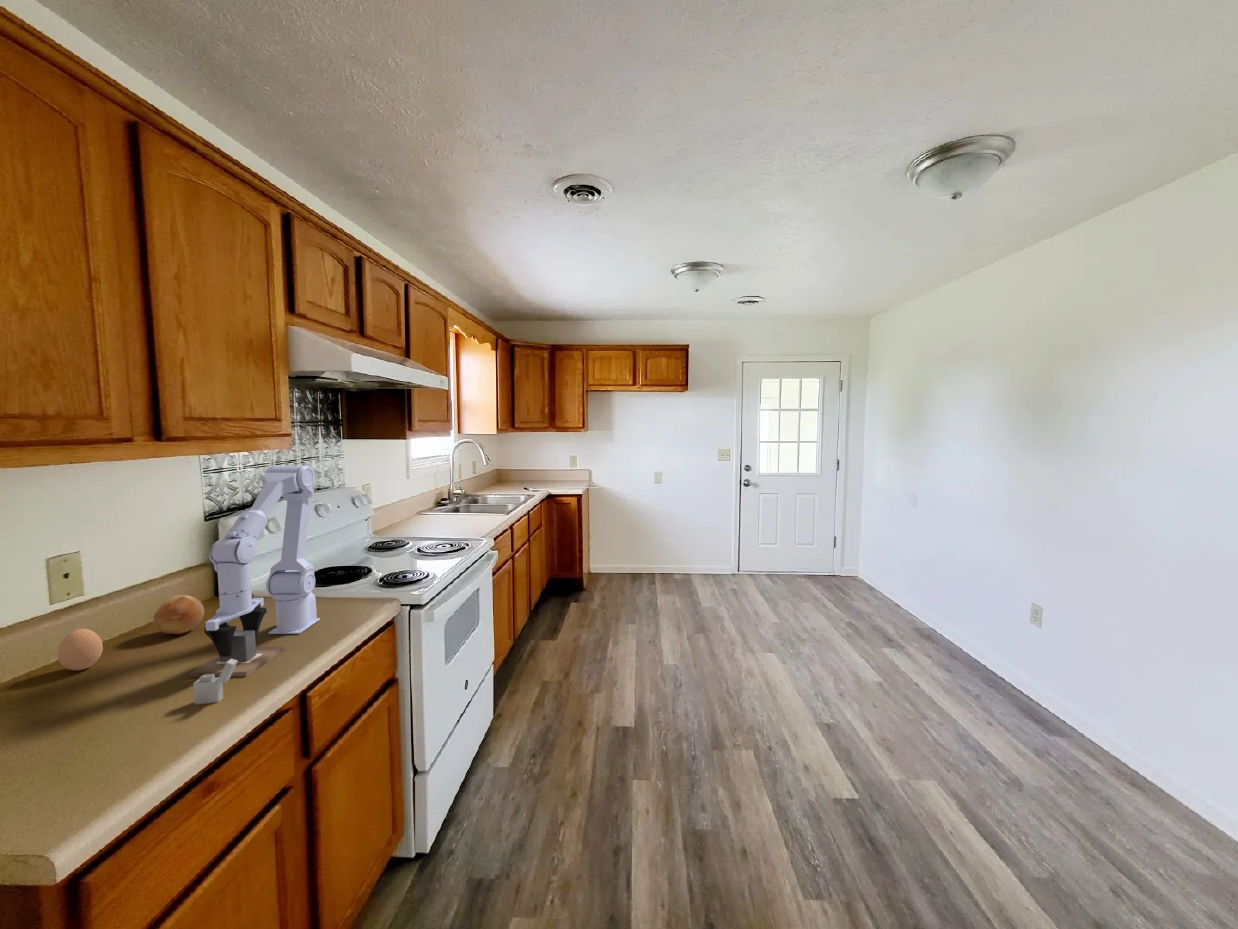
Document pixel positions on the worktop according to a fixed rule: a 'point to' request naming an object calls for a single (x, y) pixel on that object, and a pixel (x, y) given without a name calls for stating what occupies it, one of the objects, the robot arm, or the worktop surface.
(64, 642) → the egg
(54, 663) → the worktop surface
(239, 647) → the block
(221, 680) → the lighter
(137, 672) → the worktop surface
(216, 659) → the board
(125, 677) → the worktop surface
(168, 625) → the onion
